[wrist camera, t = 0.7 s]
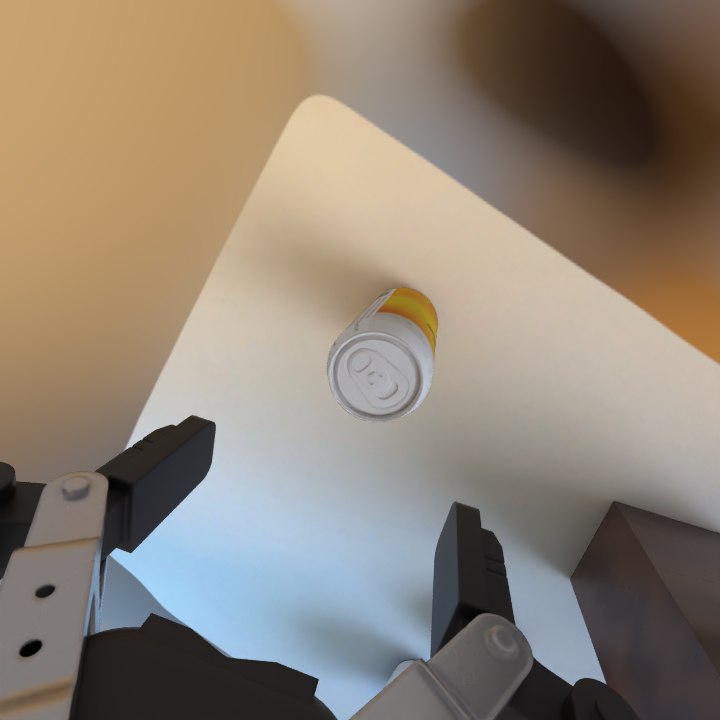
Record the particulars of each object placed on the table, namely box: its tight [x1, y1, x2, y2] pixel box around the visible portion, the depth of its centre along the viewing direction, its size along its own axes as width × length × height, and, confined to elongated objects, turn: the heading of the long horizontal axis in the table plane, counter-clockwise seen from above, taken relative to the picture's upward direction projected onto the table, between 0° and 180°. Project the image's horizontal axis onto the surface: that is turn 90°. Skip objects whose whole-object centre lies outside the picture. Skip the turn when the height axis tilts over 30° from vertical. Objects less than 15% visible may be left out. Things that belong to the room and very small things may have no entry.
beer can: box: [327, 288, 438, 423], centre depth 29 cm, size 6×6×15 cm
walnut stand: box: [570, 501, 720, 720], centre depth 30 cm, size 10×10×18 cm
